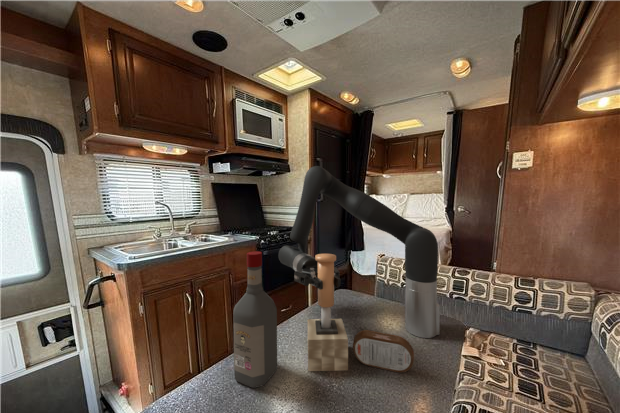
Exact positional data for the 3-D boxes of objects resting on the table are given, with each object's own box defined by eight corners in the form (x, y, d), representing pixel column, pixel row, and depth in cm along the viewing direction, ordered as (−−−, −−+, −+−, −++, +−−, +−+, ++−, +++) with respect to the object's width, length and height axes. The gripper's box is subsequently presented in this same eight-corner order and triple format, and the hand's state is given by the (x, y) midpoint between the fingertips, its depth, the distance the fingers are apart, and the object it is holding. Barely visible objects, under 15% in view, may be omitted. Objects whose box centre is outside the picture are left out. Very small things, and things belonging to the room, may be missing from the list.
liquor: (259, 392, 52) (257, 259, 51) (228, 379, 56) (226, 255, 55) (281, 366, 61) (280, 250, 60) (253, 356, 64) (251, 247, 64)
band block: (341, 345, 69) (341, 316, 69) (348, 370, 59) (347, 335, 59) (307, 346, 69) (307, 316, 68) (308, 371, 59) (307, 336, 58)
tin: (413, 369, 59) (413, 336, 59) (414, 378, 56) (414, 343, 56) (353, 356, 64) (353, 326, 64) (351, 364, 61) (351, 332, 61)
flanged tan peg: (335, 326, 66) (334, 253, 66) (337, 338, 61) (337, 258, 60) (315, 327, 66) (314, 253, 66) (316, 339, 61) (315, 258, 60)
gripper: (285, 257, 74) (304, 273, 58) (326, 253, 79) (354, 267, 63) (286, 281, 74) (304, 303, 58) (326, 275, 79) (354, 294, 63)
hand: (330, 284), depth 61 cm, fingers closed on flanged tan peg, 4 cm apart
